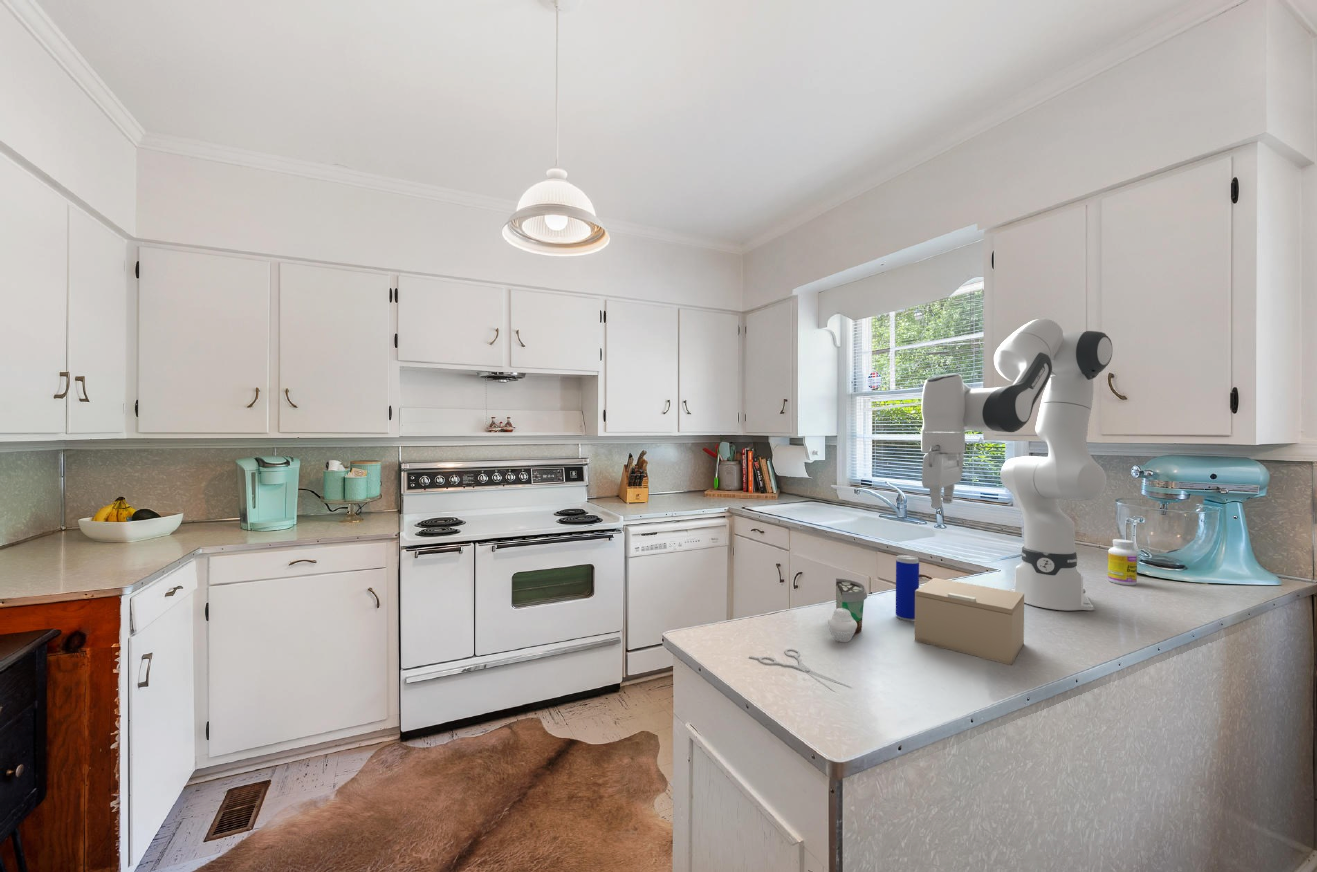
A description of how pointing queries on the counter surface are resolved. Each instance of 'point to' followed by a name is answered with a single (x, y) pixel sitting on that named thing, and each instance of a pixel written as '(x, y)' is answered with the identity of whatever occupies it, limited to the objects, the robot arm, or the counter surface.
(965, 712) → the counter surface
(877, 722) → the counter surface
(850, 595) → the food container
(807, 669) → the scissors
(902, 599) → the beverage can
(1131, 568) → the supplement bottle
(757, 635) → the counter surface
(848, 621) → the muffin
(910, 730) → the counter surface
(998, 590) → the lid
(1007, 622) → the tan box
